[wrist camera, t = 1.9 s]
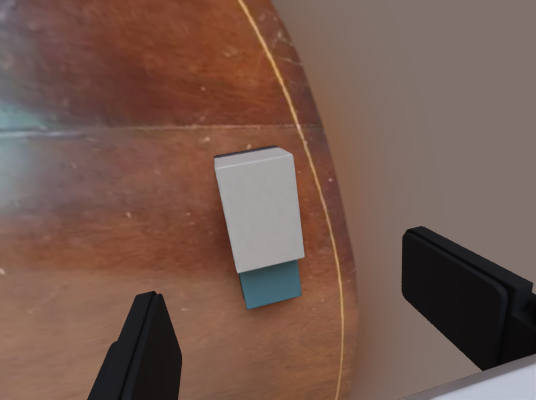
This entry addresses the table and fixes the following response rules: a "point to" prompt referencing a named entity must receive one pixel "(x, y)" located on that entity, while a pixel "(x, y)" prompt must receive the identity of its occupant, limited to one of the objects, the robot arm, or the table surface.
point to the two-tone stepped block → (262, 222)
